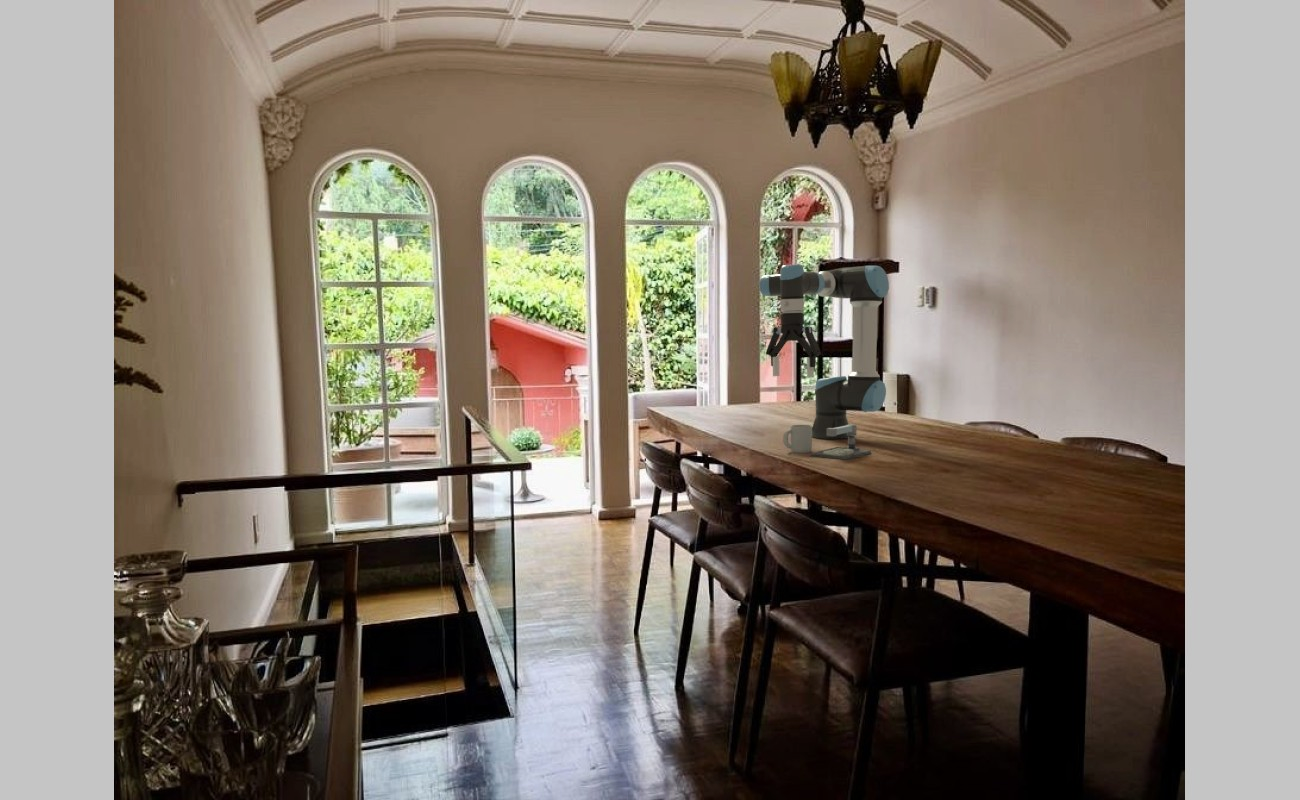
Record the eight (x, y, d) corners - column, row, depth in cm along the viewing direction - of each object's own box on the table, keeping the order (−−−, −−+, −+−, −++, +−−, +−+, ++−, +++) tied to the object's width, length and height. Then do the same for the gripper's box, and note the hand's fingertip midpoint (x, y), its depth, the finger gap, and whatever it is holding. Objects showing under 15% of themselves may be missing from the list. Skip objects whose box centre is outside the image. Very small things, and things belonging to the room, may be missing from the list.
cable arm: (849, 434, 276) (849, 423, 276) (858, 434, 274) (858, 424, 274) (825, 439, 266) (825, 428, 265) (834, 440, 263) (834, 429, 263)
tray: (837, 449, 281) (837, 434, 280) (871, 453, 272) (871, 437, 271) (811, 455, 269) (811, 439, 268) (846, 459, 260) (846, 442, 259)
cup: (814, 452, 276) (814, 426, 275) (786, 453, 275) (786, 427, 274) (808, 449, 283) (808, 424, 282) (780, 450, 282) (780, 425, 281)
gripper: (754, 313, 271) (755, 376, 273) (818, 311, 254) (819, 378, 256) (768, 313, 277) (769, 374, 279) (831, 311, 259) (831, 376, 261)
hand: (793, 376), depth 267 cm, fingers open, 13 cm apart
